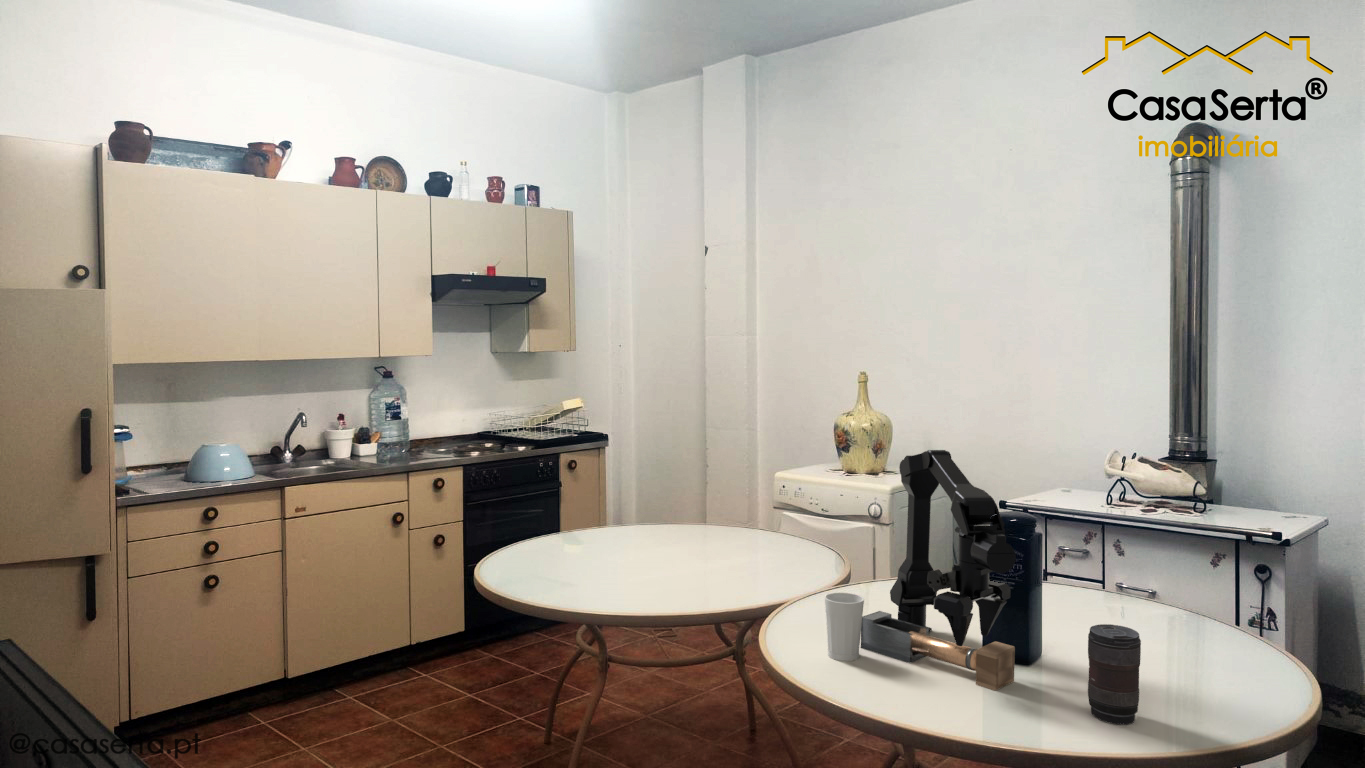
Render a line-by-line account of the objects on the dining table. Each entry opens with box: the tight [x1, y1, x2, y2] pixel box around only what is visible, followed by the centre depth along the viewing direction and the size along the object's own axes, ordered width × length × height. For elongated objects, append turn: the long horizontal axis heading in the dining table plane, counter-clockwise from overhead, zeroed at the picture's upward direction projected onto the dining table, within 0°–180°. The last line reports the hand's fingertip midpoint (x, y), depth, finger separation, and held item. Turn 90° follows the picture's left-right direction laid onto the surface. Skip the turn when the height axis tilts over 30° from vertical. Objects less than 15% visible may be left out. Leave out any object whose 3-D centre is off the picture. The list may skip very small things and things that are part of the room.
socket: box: [975, 640, 1016, 691], centre depth 165 cm, size 7×4×7 cm, turn 132°
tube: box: [909, 631, 977, 672], centre depth 171 cm, size 19×4×4 cm, turn 42°
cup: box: [824, 592, 865, 662], centre depth 179 cm, size 8×8×12 cm
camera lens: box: [1087, 623, 1142, 725], centre depth 150 cm, size 8×8×15 cm
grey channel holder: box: [860, 610, 930, 664], centre depth 181 cm, size 12×7×7 cm, turn 42°
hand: (972, 640), depth 168 cm, fingers open, 9 cm apart
